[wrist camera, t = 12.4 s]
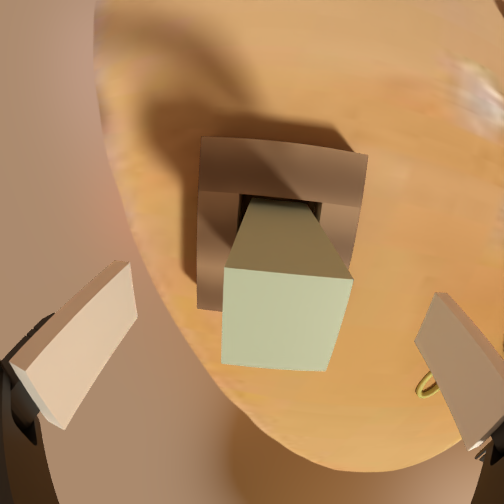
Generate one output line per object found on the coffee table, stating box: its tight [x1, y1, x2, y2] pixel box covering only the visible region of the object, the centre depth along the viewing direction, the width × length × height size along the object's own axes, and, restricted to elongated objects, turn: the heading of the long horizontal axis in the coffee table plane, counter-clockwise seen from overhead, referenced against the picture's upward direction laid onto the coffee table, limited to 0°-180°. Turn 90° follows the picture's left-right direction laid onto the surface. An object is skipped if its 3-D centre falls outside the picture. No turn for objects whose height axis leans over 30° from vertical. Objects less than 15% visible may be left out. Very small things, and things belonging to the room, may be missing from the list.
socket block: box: [197, 136, 368, 312], centre depth 21 cm, size 14×12×3 cm
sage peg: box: [221, 198, 354, 371], centre depth 16 cm, size 4×4×14 cm
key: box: [416, 371, 440, 398], centre depth 28 cm, size 7×12×2 cm, turn 84°
